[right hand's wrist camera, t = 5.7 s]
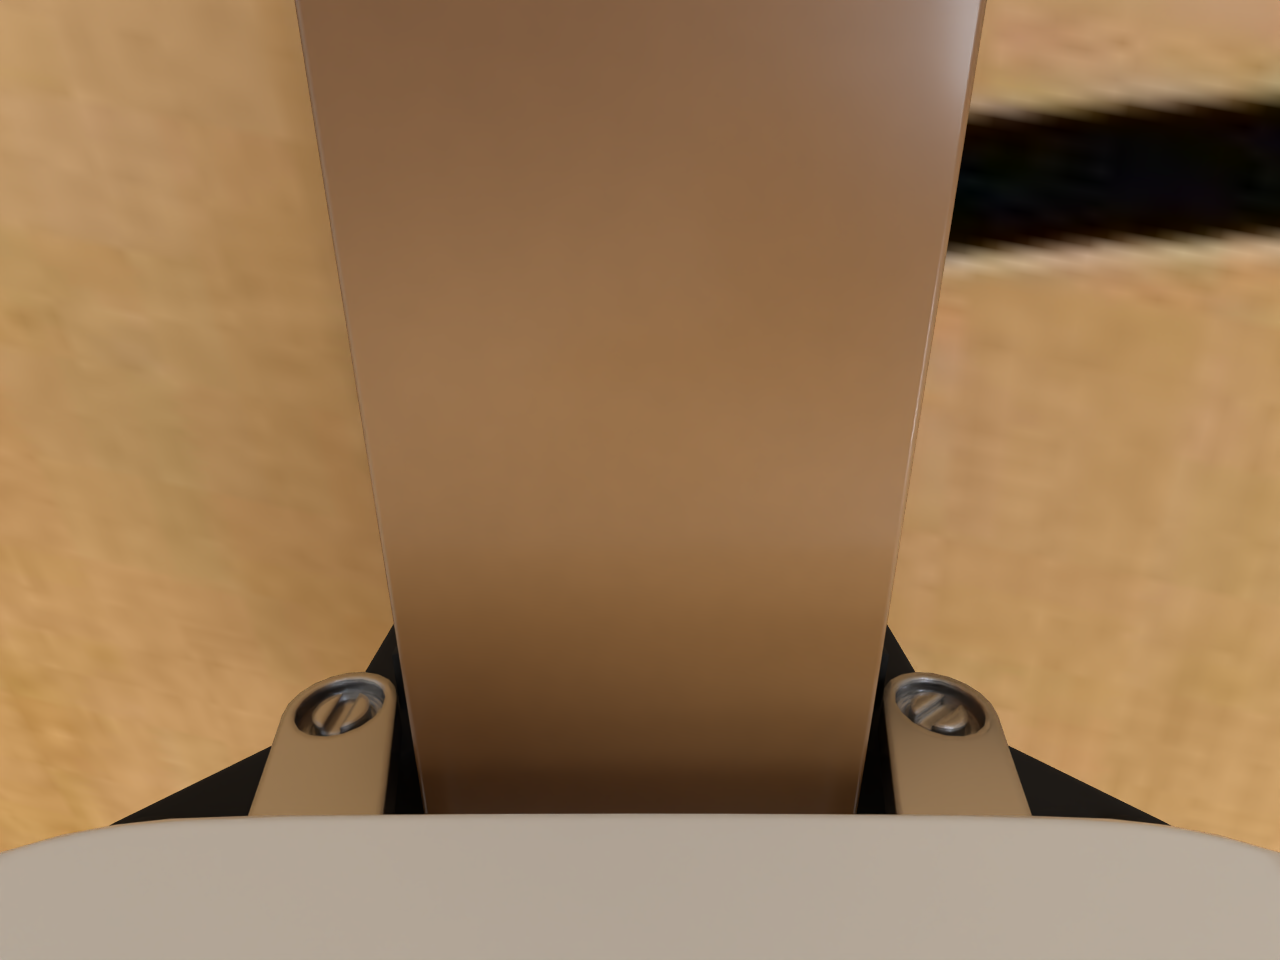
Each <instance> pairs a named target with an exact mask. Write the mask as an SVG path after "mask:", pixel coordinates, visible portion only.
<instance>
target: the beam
mask: <svg viewBox="0 0 1280 960" xmlns="http://www.w3.org/2000/svg"><path fill="white" fill-rule="evenodd" d="M986 1H987V0H295V5H296V12H297V18H298V24H299V31H300V37H301V43H302V49H303V56H304V62H305V68H306V75H307V81H308V87H309V93H310V100H311V106H312V112H313V118H314V125H315V131H316V137H317V144H318V150H319V156H320V162H321V169H322V175H323V181H324V188H325V194H326V200H327V206H328V213H329V219H330V225H331V231H332V238H333V244H334V250H335V257H336V263H337V269H338V275H339V282H340V288H341V294H342V300H343V307H344V313H345V319H346V326H347V332H348V338H349V344H350V351H351V357H352V363H353V370H354V376H355V382H356V388H357V395H358V401H359V407H360V413H361V420H362V426H363V432H364V439H365V445H366V451H367V457H368V464H369V470H370V476H371V482H372V489H373V495H374V501H375V508H376V514H377V520H378V526H379V533H380V539H381V545H382V552H383V558H384V564H385V570H386V577H387V583H388V589H389V595H390V602H391V608H392V614H393V621H394V627H395V633H396V639H397V646H398V652H399V658H400V665H401V671H402V677H403V683H404V690H405V696H406V702H407V708H408V715H409V721H410V727H411V734H412V740H413V746H414V752H415V759H416V765H417V771H418V777H419V784H420V790H421V796H422V803H423V809H424V814H857V807H858V801H859V795H860V789H861V782H862V776H863V770H864V764H865V757H866V751H867V745H868V739H869V732H870V726H871V720H872V714H873V707H874V701H875V695H876V689H877V682H878V676H879V670H880V664H881V657H882V651H883V645H884V639H885V632H886V626H887V620H888V614H889V607H890V601H891V595H892V589H893V582H894V576H895V570H896V564H897V557H898V551H899V545H900V539H901V532H902V526H903V520H904V514H905V507H906V501H907V495H908V489H909V483H910V476H911V470H912V464H913V458H914V451H915V445H916V439H917V433H918V426H919V420H920V414H921V408H922V401H923V395H924V389H925V383H926V376H927V370H928V364H929V358H930V351H931V345H932V339H933V333H934V326H935V320H936V314H937V308H938V301H939V295H940V289H941V283H942V276H943V270H944V264H945V258H946V251H947V245H948V239H949V233H950V226H951V220H952V214H953V208H954V201H955V195H956V189H957V183H958V176H959V170H960V164H961V158H962V151H963V145H964V139H965V133H966V126H967V120H968V114H969V108H970V101H971V95H972V89H973V83H974V76H975V70H976V64H977V58H978V51H979V45H980V39H981V33H982V26H983V20H984V14H985V8H986Z"/></svg>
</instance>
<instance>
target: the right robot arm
mask: <svg viewBox="0 0 1280 960" xmlns="http://www.w3.org/2000/svg"><path fill="white" fill-rule="evenodd" d="M0 960H1280V853H1279V852H1277V851H1273V850H1270V849H1266V848H1263V847H1259V846H1255V845H1252V844H1248V843H1245V842H1241V841H1238V840H1234V839H1231V838H1227V837H1224V836H1220V835H1216V834H1211V833H1205V832H1200V831H1195V830H1189V829H1184V828H1179V827H1173V826H1171V825H1169V824H1167V823H1165V822H1163V821H1161V820H1159V819H1157V818H1155V817H1153V816H1151V815H1149V814H1147V813H1145V812H1143V811H1141V810H1139V809H1137V808H1135V807H1133V806H1130V805H1128V804H1126V803H1124V802H1122V801H1120V800H1118V799H1116V798H1114V797H1112V796H1110V795H1108V794H1106V793H1104V792H1102V791H1100V790H1098V789H1096V788H1094V787H1092V786H1090V785H1088V784H1086V783H1084V782H1082V781H1079V780H1077V779H1075V778H1073V777H1071V776H1069V775H1067V774H1065V773H1063V772H1061V771H1059V770H1057V769H1055V768H1053V767H1051V766H1049V765H1047V764H1045V763H1043V762H1041V761H1039V760H1037V759H1035V758H1033V757H1031V756H1028V755H1026V754H1024V753H1022V752H1020V751H1018V750H1016V749H1014V748H1012V747H1010V746H1008V744H1007V741H1006V738H1005V735H1004V732H1003V729H1002V726H1001V723H1000V720H999V717H998V715H997V713H996V711H995V710H994V708H993V706H992V704H991V703H990V702H989V701H988V700H987V699H986V698H985V697H984V696H983V695H982V694H981V693H979V692H978V691H976V690H974V689H973V688H971V687H970V686H968V685H966V684H965V683H962V682H960V681H957V680H955V679H952V678H950V677H947V676H942V675H938V674H934V673H923V672H915V671H914V669H913V667H912V666H911V664H910V662H909V661H908V659H907V657H906V656H905V654H904V652H903V651H902V649H901V647H900V645H899V644H898V642H897V640H896V639H895V637H894V635H893V634H892V632H891V630H890V629H889V627H888V625H887V626H886V632H885V639H884V645H883V651H882V657H881V664H880V670H879V676H878V682H877V689H876V695H875V701H874V707H873V714H872V720H871V726H870V732H869V739H868V745H867V751H866V757H865V764H864V770H863V776H862V782H861V789H860V795H859V801H858V807H857V814H424V809H423V803H422V796H421V790H420V784H419V777H418V771H417V765H416V759H415V752H414V746H413V740H412V734H411V727H410V721H409V715H408V708H407V702H406V696H405V690H404V683H403V677H402V671H401V665H400V658H399V652H398V646H397V639H396V633H395V627H394V624H393V626H392V628H391V630H390V631H389V633H388V635H387V636H386V638H385V640H384V641H383V643H382V645H381V646H380V648H379V650H378V651H377V653H376V655H375V656H374V658H373V660H372V662H371V663H370V665H369V667H368V668H367V670H366V672H357V673H346V674H342V675H338V676H333V677H330V678H328V679H325V680H323V681H320V682H318V683H315V684H314V685H312V686H310V687H309V688H307V689H306V690H304V691H302V692H301V693H299V694H298V695H297V696H296V697H295V698H294V699H293V700H292V701H291V702H290V703H289V704H288V706H287V708H286V710H285V711H284V713H283V715H282V717H281V720H280V723H279V726H278V729H277V732H276V735H275V738H274V741H273V744H272V746H270V747H268V748H266V749H264V750H262V751H260V752H258V753H256V754H254V755H252V756H250V757H248V758H246V759H244V760H242V761H240V762H238V763H236V764H234V765H232V766H230V767H227V768H225V769H223V770H221V771H219V772H217V773H215V774H213V775H211V776H209V777H207V778H205V779H203V780H201V781H199V782H197V783H195V784H193V785H191V786H189V787H187V788H185V789H183V790H181V791H178V792H176V793H174V794H172V795H170V796H168V797H166V798H164V799H162V800H160V801H158V802H156V803H154V804H152V805H150V806H148V807H146V808H144V809H142V810H140V811H138V812H136V813H134V814H132V815H129V816H127V817H125V818H123V819H121V820H119V821H117V822H115V823H113V824H112V825H110V826H107V827H101V828H96V829H91V830H85V831H80V832H75V833H69V834H64V835H60V836H56V837H53V838H49V839H46V840H42V841H39V842H35V843H32V844H28V845H25V846H21V847H17V848H14V849H10V850H7V851H3V852H1V853H0Z"/></svg>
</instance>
